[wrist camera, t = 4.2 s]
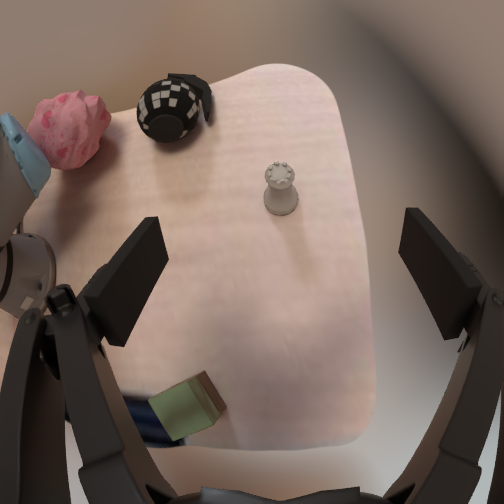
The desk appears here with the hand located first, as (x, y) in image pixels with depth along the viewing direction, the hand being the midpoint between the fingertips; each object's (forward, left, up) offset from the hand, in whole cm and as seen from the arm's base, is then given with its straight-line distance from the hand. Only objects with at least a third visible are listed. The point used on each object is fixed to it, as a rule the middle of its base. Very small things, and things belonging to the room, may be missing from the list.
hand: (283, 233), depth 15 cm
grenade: (-24, -2, -16) cm, 29 cm away
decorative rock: (-39, -23, -9) cm, 46 cm away
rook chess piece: (-9, +5, -22) cm, 24 cm away
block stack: (+7, -17, -21) cm, 28 cm away
